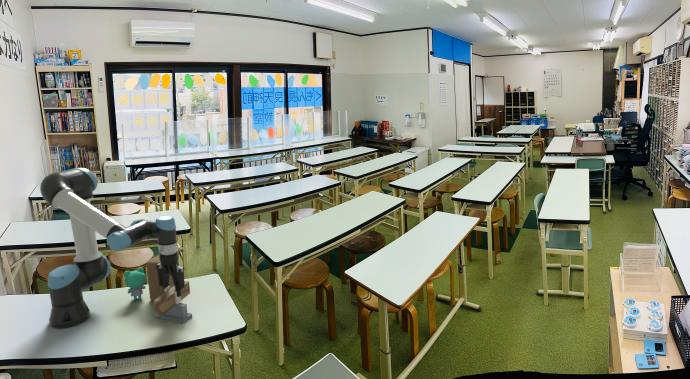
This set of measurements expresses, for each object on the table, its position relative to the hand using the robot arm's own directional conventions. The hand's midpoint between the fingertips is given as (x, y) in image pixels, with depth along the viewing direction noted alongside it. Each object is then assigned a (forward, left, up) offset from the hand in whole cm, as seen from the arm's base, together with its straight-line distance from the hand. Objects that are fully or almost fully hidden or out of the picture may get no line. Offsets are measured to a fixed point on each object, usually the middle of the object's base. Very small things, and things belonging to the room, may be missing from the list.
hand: (173, 301), depth 190 cm
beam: (0, 0, -1) cm, 1 cm away
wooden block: (-18, +14, -8) cm, 24 cm away
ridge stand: (0, 0, -8) cm, 8 cm away
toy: (-29, +8, -8) cm, 31 cm away
